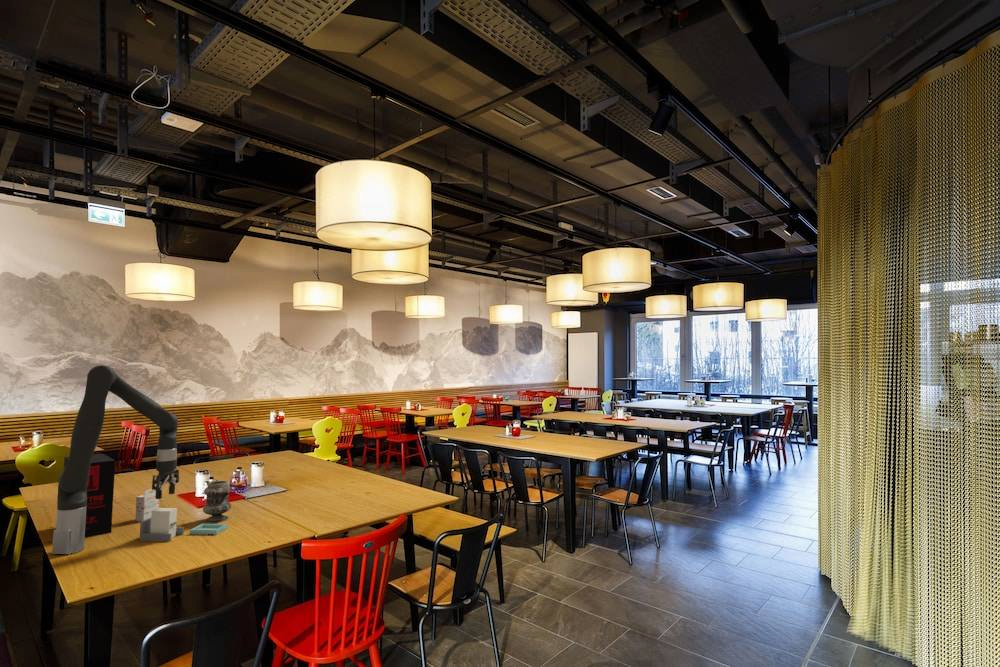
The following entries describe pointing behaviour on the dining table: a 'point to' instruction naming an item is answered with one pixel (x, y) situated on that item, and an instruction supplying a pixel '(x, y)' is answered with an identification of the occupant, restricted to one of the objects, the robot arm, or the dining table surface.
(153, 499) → the ink cartridge box
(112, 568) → the dining table surface
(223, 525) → the tray
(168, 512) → the cream upright block
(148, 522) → the bay
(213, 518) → the apothecary jar
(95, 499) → the product box
